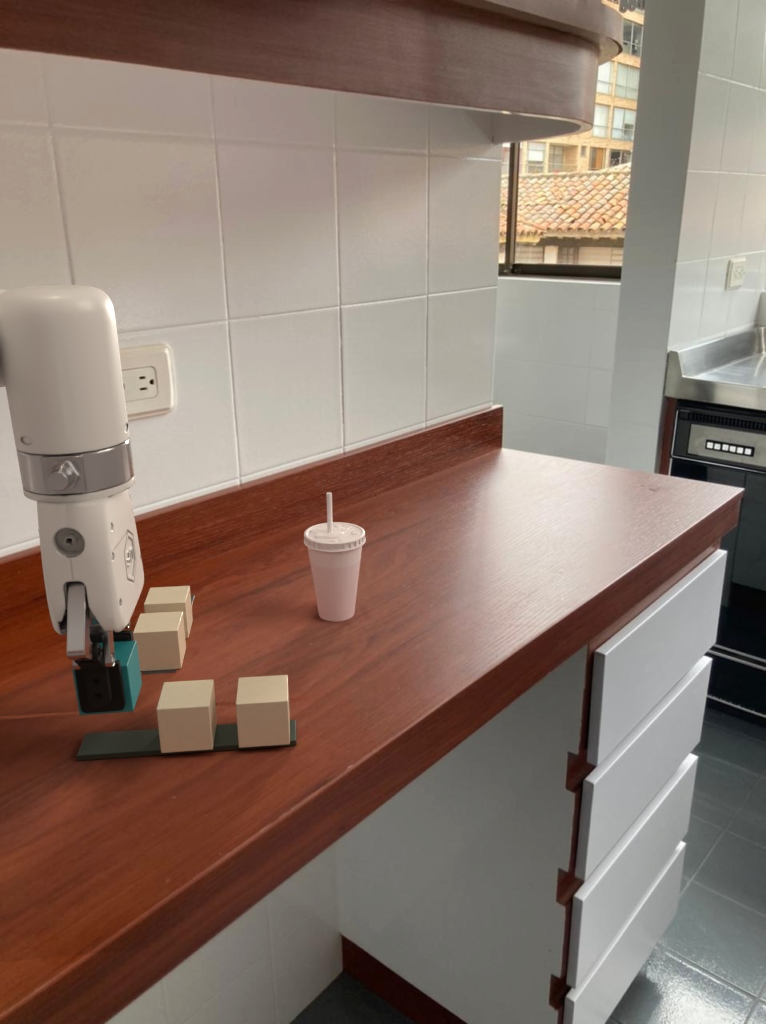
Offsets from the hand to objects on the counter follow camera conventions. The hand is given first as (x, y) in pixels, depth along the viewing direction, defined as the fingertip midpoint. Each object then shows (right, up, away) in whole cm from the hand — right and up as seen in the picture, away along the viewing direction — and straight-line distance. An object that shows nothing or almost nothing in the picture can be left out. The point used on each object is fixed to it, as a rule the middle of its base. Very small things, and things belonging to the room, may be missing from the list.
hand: (110, 690), depth 63 cm
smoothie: (+16, +3, +23) cm, 29 cm away
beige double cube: (0, +1, +20) cm, 20 cm away
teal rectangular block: (0, -1, 0) cm, 1 cm away
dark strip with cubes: (+6, -5, +2) cm, 8 cm away
